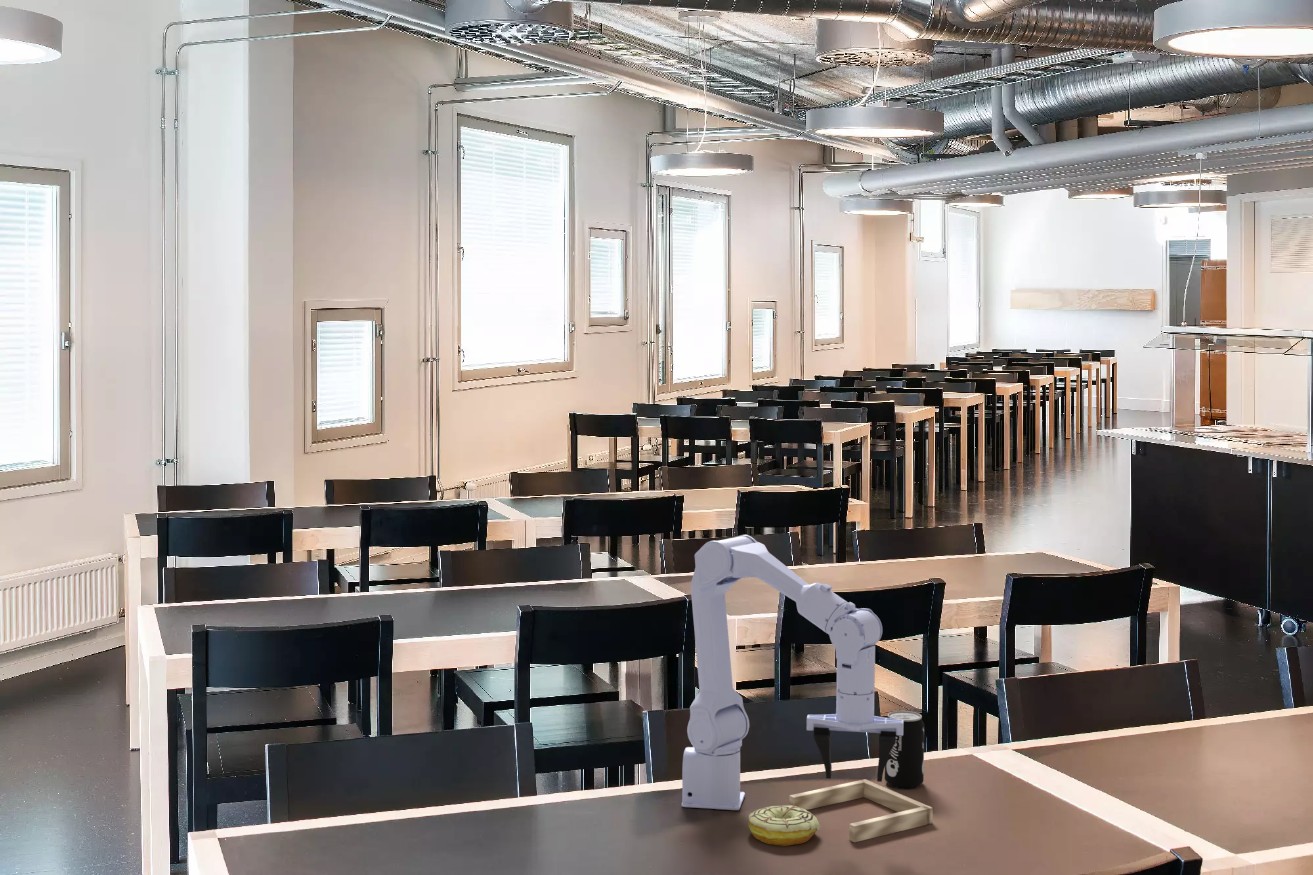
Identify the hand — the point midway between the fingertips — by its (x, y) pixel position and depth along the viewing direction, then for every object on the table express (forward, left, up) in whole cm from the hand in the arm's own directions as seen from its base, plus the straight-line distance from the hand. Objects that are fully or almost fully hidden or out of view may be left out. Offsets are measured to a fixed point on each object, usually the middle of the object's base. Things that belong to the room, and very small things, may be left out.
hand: (854, 777), depth 209 cm
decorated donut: (-11, -1, -10) cm, 14 cm away
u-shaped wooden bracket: (0, +9, -9) cm, 13 cm away
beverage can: (+7, +27, -10) cm, 30 cm away
